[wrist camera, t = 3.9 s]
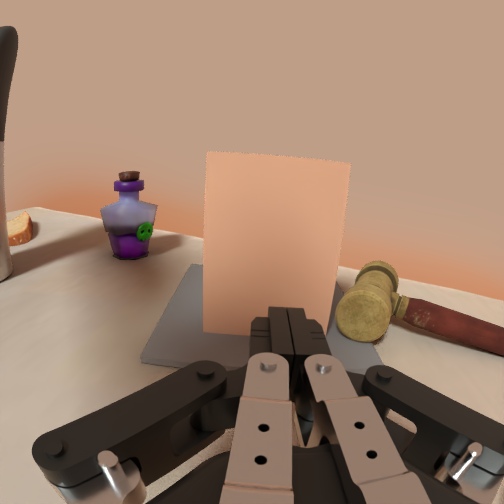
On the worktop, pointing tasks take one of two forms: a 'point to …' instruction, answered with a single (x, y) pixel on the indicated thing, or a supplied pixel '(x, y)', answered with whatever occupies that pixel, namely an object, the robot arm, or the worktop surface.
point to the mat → (227, 345)
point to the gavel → (406, 312)
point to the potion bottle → (129, 219)
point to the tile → (270, 237)
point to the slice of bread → (19, 230)
